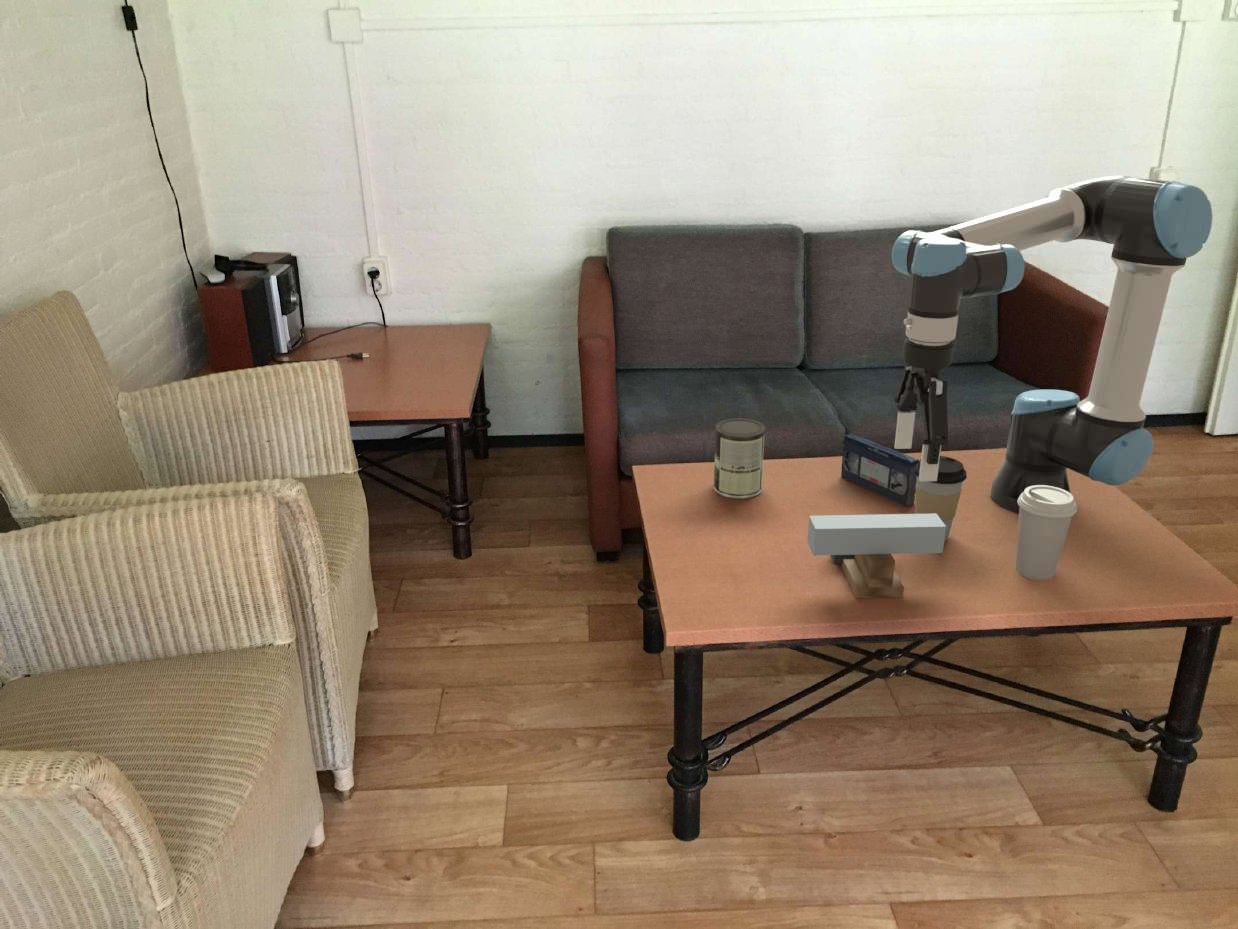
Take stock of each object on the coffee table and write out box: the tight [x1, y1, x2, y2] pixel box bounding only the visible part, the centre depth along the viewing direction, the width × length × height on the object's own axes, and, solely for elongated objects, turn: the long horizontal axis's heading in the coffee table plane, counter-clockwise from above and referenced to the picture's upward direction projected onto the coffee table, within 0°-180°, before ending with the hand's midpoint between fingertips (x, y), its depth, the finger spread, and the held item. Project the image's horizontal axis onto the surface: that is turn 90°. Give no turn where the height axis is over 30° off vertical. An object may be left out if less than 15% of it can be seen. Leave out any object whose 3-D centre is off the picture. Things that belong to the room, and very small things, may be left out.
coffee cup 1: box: [914, 455, 968, 542], centre depth 184 cm, size 9×9×15 cm
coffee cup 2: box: [1015, 485, 1078, 581], centre depth 171 cm, size 10×10×15 cm
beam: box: [806, 513, 946, 556], centre depth 167 cm, size 22×5×5 cm, turn 91°
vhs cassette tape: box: [840, 433, 920, 507], centre depth 204 cm, size 18×3×10 cm, turn 33°
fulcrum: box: [841, 554, 905, 599], centre depth 169 cm, size 8×10×7 cm
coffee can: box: [713, 417, 766, 500], centre depth 204 cm, size 10×10×14 cm
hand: (914, 463), depth 162 cm, fingers open, 13 cm apart
